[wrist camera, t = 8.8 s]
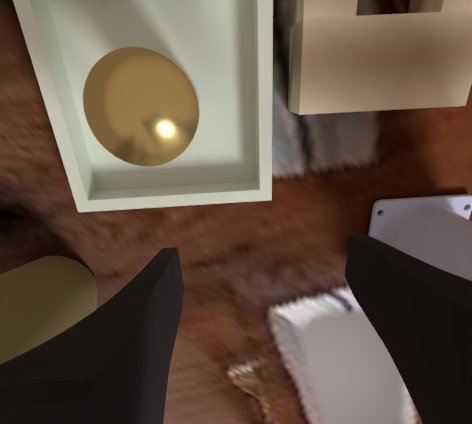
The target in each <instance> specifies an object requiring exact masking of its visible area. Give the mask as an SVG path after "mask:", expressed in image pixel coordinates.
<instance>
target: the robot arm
mask: <svg viewBox="0 0 472 424" xmlns="http://www.w3.org/2000/svg"><path fill="white" fill-rule="evenodd" d="M465 205H466V207H465V208H464V206H465ZM380 210H381V212H380V213H379V214H377V213H378V211H380ZM471 210H472V195H470V194H462V195H446V196H430V197H415V198H399V199H384V200H378V201H376V202H375V203H374V205H373V210H372V216H371V222H370V228H369V234H368V235H366V234H361V235H350V241H349V248H348V255H347V262H346V269H345V277H346V279H347V282H348V284H349V287H350V289H351V291H352V293H353V295H354V297H355V298H356V300H357V302H358V303H359V305H360V307H361V308H362V310H363V311H364V313H365V315H366V316H367V318H368V319H369V321H370V322H371V324H372V326H373V327H374V328H375V330H376V332H377V333H378V335H379V336H380V338H381V339H382V341H383V343H384V345H385V346H386V348H387V349H388V351H389V353H390V355H391V357H392V359H393V361H394V363H395V365H396V367H397V369H398V371H399V373H400V375H401V377H402V379H403V381H404V383H405V385H406V387H407V389H408V392H409V394H410V396H411V398H412V400H413V402H414V404H415V406H416V409H417V411H418V413H419V416H420V418H421V420H422V423H423V424H472V221H470V220H468V219H469V216H470V213H471ZM183 290H184V286H183V279H182V273H181V266H180V260H179V254H178V247H176V248H163V249H162V250H161V251H160V252H159V253H158V254H157V255H156V256H155V257H154V258H153V259H152V260H151V261H150V262H149V263H148V264H147V265H146V266H145V268H144V269H143V270H142V271H141V272H140V273H139V274H138V275H137V276H136V277H135V278H134V279H132V280H131V281H130V282H129V283H128V284H127V285H126V286H125V287H124V288H123V289H122V290H120V291H119V292H118V293H117V294H116V295H115V296H113V297H112V298H111V299H110V300H109V301H107V302H106V303H105V304H103V305H102V306H101V307H99V308H98V309H97V310H95V311H94V312H92V313H91V314H89V315H88V316H86V317H85V318H83V319H82V320H80V321H79V322H77V323H76V324H74V325H73V326H71V327H70V328H68V329H67V330H65V331H63V332H62V333H60V334H58V335H56V336H55V337H53V338H51V339H49V340H48V341H46V342H44V343H42V344H40V345H39V346H37V347H35V348H33V349H31V350H29V351H27V352H25V353H23V354H21V355H19V356H17V357H15V358H13V359H11V360H9V361H7V362H5V363H2V364H0V424H163V418H164V408H165V399H166V390H167V382H168V373H169V367H170V362H171V357H172V352H173V348H174V343H175V339H176V334H177V330H178V325H179V320H180V316H181V311H182V302H183Z"/></svg>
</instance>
